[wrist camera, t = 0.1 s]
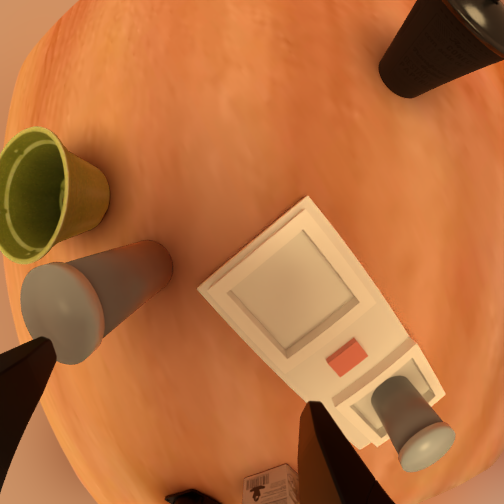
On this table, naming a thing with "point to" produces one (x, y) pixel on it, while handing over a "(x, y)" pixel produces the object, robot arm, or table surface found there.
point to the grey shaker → (91, 296)
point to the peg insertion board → (332, 335)
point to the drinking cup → (443, 44)
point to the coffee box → (272, 487)
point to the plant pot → (46, 195)
